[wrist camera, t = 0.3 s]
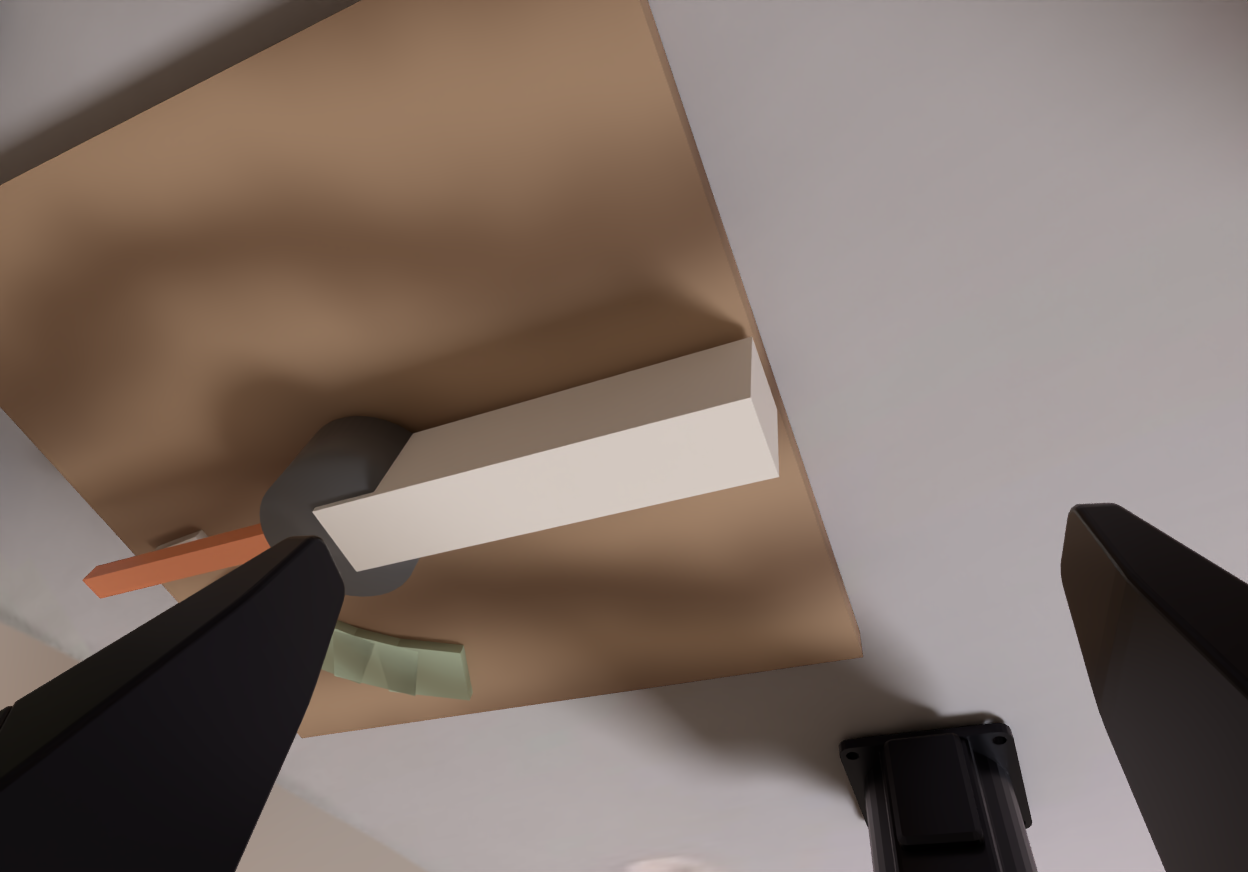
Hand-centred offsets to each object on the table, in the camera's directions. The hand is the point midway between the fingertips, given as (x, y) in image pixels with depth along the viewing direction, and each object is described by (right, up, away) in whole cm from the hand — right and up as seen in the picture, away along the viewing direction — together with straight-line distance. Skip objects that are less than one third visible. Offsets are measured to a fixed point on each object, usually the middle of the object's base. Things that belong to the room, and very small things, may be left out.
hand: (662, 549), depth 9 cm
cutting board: (-8, +1, +18) cm, 19 cm away
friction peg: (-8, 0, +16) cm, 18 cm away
